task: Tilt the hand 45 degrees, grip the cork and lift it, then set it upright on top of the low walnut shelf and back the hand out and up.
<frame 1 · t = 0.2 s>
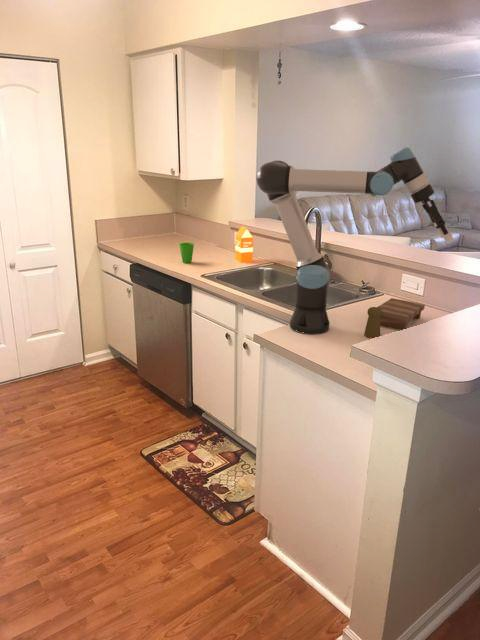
hand: (447, 239, 189), 35 cm above the worktop, tool tilted 35°, fingers open, 13 cm apart
cup: (187, 262, 300), on the worktop
orange juice: (243, 260, 307), on the worktop
cork: (372, 336, 192), on the worktop
walnut shelf: (397, 321, 208), on the worktop
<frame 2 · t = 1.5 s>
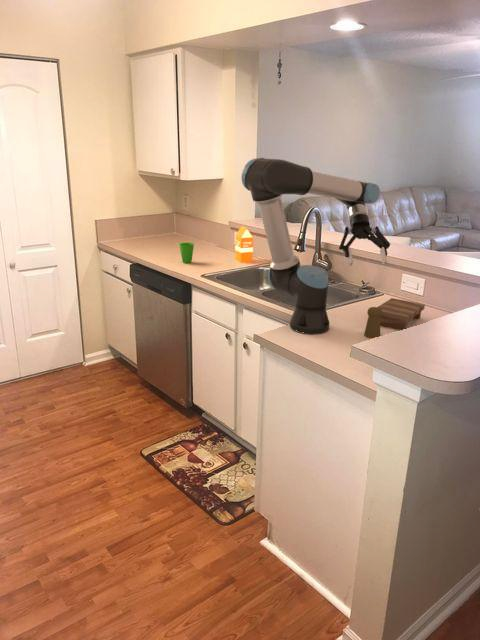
hand: (368, 263, 200), 24 cm above the worktop, tool tilted 45°, fingers open, 13 cm apart
nothing on the worktop moved.
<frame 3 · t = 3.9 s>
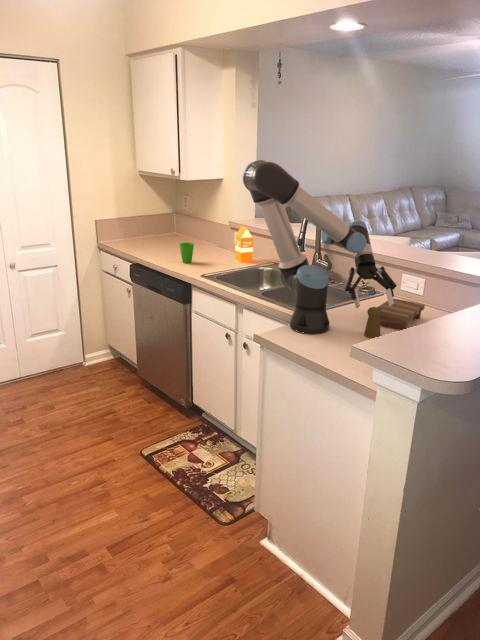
hand: (375, 306, 196), 9 cm above the worktop, tool tilted 45°, fingers open, 13 cm apart
nothing on the worktop moved.
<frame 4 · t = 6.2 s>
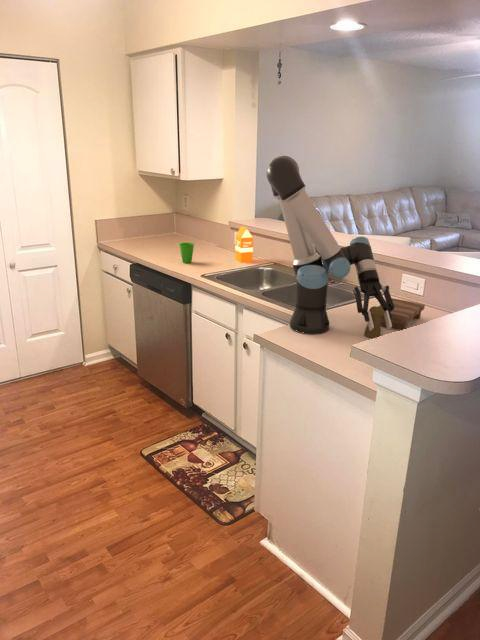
hand: (380, 328, 187), 4 cm above the worktop, tool tilted 45°, fingers open, 6 cm apart
cork: (372, 335, 192), on the worktop, touching gripper
everything else where it was.
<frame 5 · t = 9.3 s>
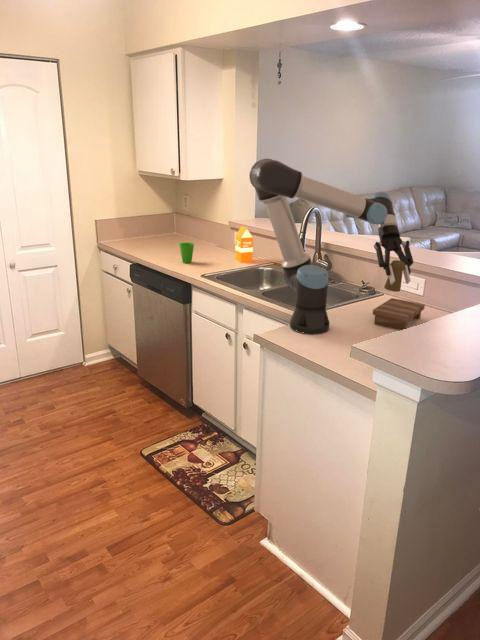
hand: (400, 282, 190), 20 cm above the worktop, tool tilted 45°, fingers closed on cork, 5 cm apart
cork: (391, 289, 195), point 16 cm above the worktop, touching gripper
everything else where it was.
when the fingers open (11 cm above the worktop, at t = 12.0 s): cork stays where it is, resting on walnut shelf.
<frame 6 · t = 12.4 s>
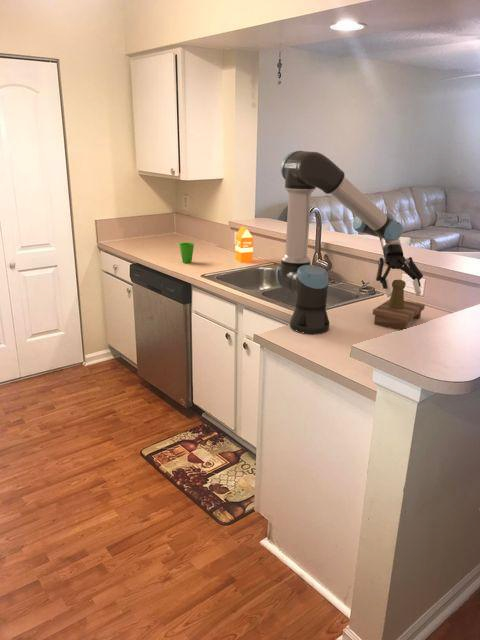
hand: (404, 295, 202), 12 cm above the worktop, tool tilted 45°, fingers open, 11 cm apart
cork: (396, 307, 206), point 6 cm above the worktop, touching walnut shelf
everything else where it was.
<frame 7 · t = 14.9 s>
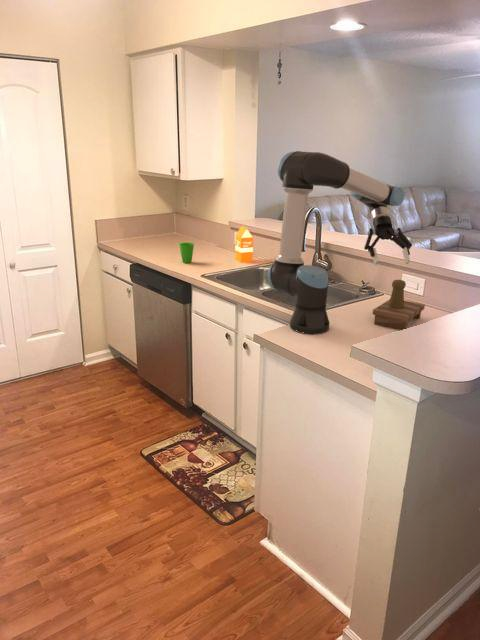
hand: (392, 262, 211), 22 cm above the worktop, tool tilted 45°, fingers open, 13 cm apart
nothing on the worktop moved.
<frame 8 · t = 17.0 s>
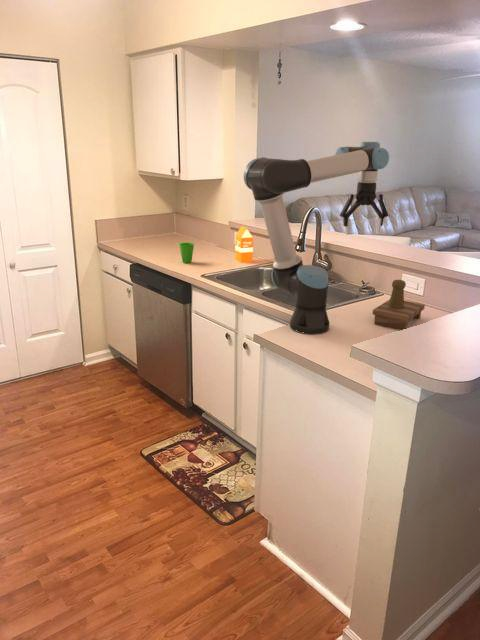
hand: (362, 234, 216), 32 cm above the worktop, tool pointing down, fingers open, 13 cm apart
nothing on the worktop moved.
at the end: cork inside the target area on the walnut shelf (1.3 cm from its centre), point 5.8 cm above the walnut shelf's base; cork tilted 0°; the gripper is holding nothing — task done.
